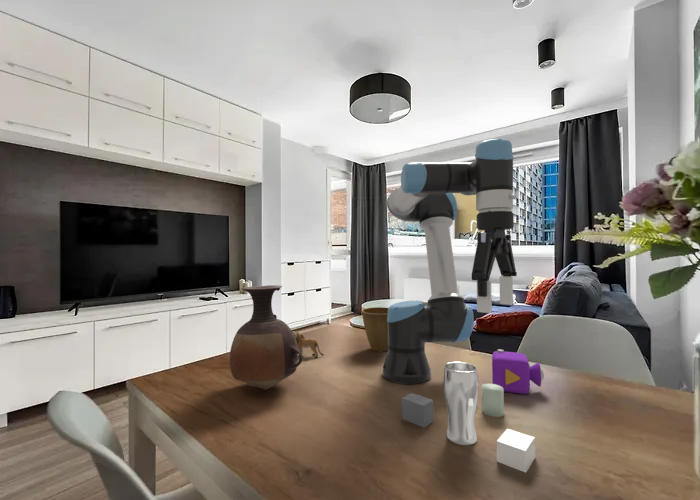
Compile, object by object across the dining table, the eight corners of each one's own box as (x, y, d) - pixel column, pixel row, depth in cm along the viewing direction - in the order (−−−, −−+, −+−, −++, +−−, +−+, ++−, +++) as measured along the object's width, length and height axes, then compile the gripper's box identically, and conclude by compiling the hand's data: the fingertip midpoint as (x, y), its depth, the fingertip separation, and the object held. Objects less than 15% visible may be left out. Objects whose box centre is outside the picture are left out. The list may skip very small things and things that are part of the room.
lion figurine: (286, 355, 132) (285, 332, 132) (292, 351, 137) (292, 329, 137) (321, 358, 128) (321, 334, 128) (326, 354, 133) (326, 331, 133)
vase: (315, 389, 99) (314, 285, 99) (256, 412, 85) (255, 291, 85) (270, 371, 115) (269, 282, 115) (214, 388, 101) (213, 286, 101)
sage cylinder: (478, 412, 83) (477, 387, 84) (487, 405, 87) (486, 382, 87) (499, 419, 80) (498, 393, 80) (507, 411, 83) (506, 387, 84)
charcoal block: (402, 419, 81) (401, 398, 81) (412, 413, 83) (411, 393, 84) (424, 428, 76) (423, 405, 76) (433, 421, 79) (433, 400, 79)
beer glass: (478, 431, 74) (477, 363, 74) (479, 449, 68) (478, 373, 68) (445, 427, 77) (444, 360, 77) (443, 443, 70) (442, 370, 70)
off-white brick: (526, 473, 60) (525, 451, 60) (497, 462, 64) (496, 440, 64) (535, 458, 65) (534, 437, 65) (507, 448, 68) (507, 428, 68)
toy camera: (549, 398, 91) (549, 360, 91) (495, 394, 94) (494, 358, 94) (536, 383, 101) (535, 349, 102) (487, 380, 104) (487, 347, 104)
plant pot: (354, 349, 139) (354, 310, 139) (379, 342, 149) (378, 306, 149) (382, 357, 128) (381, 314, 128) (406, 349, 138) (406, 309, 138)
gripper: (491, 204, 63) (493, 318, 63) (529, 214, 82) (530, 302, 82) (453, 208, 68) (454, 314, 68) (497, 216, 87) (498, 300, 87)
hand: (496, 308), depth 75 cm, fingers open, 13 cm apart
